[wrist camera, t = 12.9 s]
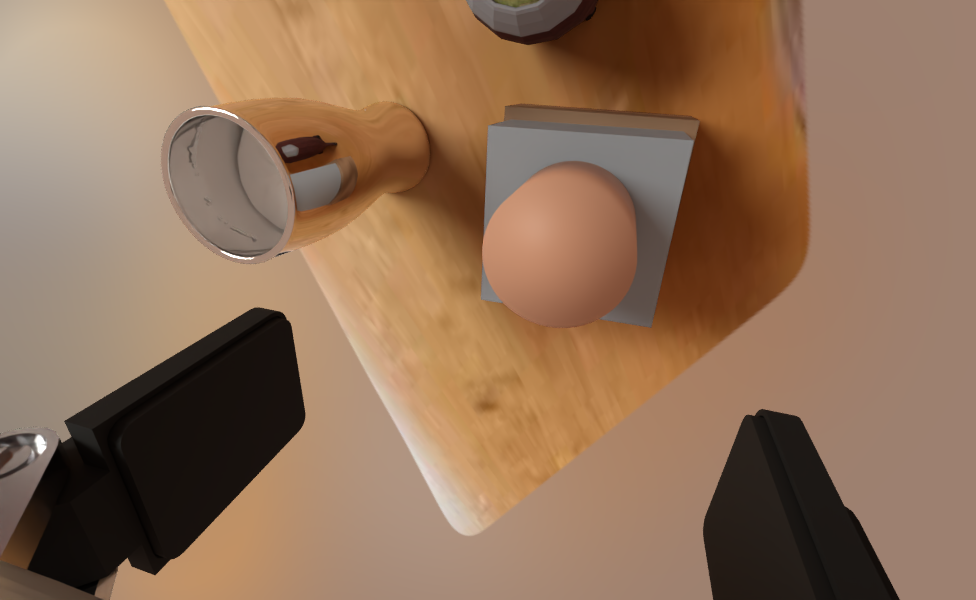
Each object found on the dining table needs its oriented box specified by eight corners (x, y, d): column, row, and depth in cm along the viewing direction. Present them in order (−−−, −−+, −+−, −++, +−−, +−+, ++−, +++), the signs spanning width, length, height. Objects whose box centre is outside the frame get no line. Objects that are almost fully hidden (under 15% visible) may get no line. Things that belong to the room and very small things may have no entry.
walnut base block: (522, 103, 29) (505, 106, 25) (689, 115, 27) (699, 120, 23) (510, 252, 33) (494, 274, 29) (653, 273, 31) (656, 301, 27)
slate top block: (510, 119, 25) (488, 125, 21) (683, 131, 23) (693, 140, 19) (501, 270, 29) (481, 299, 25) (648, 292, 27) (651, 327, 23)
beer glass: (456, 155, 31) (328, 205, 18) (393, 216, 34) (245, 296, 21) (387, 70, 30) (199, 58, 17) (329, 142, 33) (132, 178, 20)
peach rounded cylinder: (516, 154, 21) (486, 172, 17) (648, 168, 20) (653, 191, 16) (506, 272, 24) (478, 313, 20) (622, 291, 23) (620, 340, 18)
